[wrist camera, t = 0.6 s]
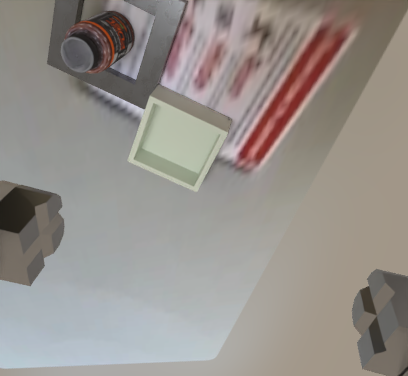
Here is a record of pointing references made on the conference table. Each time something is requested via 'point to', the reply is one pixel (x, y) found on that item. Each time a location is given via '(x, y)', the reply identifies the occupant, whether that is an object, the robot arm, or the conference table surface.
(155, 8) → the socket frame
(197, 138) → the tray
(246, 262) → the conference table surface
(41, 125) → the conference table surface
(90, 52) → the supplement bottle
